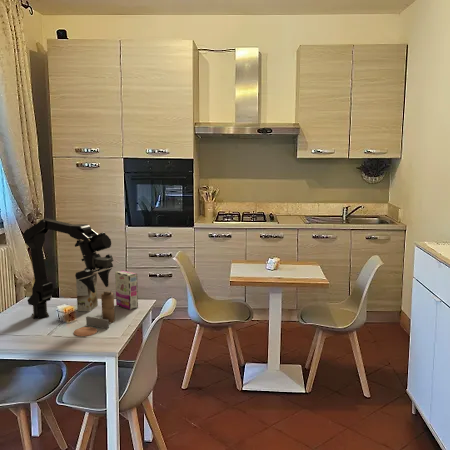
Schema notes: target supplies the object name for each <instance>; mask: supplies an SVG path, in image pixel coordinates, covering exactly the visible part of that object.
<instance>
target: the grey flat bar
mask: <svg viewBox="0 0 450 450" xmlns="http://www.w3.org/2000/svg"><path fill="white" fill-rule="evenodd" d="M85 317H86V318H85V322H86V326H88V327H95V328H96V327H97V328H101V329H106V330H107V329H109V328H110V323H109V320H106V319H102V317H101V318H100V317H94V316H88V315H87V316H85Z"/></svg>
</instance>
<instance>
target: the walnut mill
mask: <svg viewBox="0 0 450 450" xmlns="http://www.w3.org/2000/svg"><path fill="white" fill-rule="evenodd" d="M114 295H115V294H114V292H112V290H106V291H103V293H101V295H100V296H101V297H100V299H101V300H100V301H101V319H106V320H109V324H112V323H114V322H115V321H116V320H115V319H116V317H115V316H116V315H115V296H114Z"/></svg>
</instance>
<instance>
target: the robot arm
mask: <svg viewBox="0 0 450 450" xmlns="http://www.w3.org/2000/svg"><path fill="white" fill-rule="evenodd" d="M50 230H51V231H53V232H54V231H55V232H58V233H59V232H60V233H61V234H66V235H68V236H69V237H70V238H72V239H75V240H76V242H75V244H74V247H79V250H80V253H81V256H82V258H81V259H80V260H81V262H84V265H85V268H84V269H83V270H80V271H77V272H75V275H74V277H75V281H76V280H77V279H80V280H79V281H81V282H82V283H84V284H85V285H86V286H87V287H88V288H89V289H90V290H91V291H92V292H93V293H95V287H94V283H93V277H94V275H93V276H91V275H92V274H93V273H97V276H99V278H100V280H101V282H102V283H103V285H104V286H105V288H108V287H109V275H110V272H111V270H112V269H113V267H114V265H113V262H114V259H113V255H112V254H109V253H108V254H106V255H105V256H101V254H100V253H97V252H100V251H103V250H106V249H110V248H111V247H112V241H111V238H110V237H109V236H108V235H107V234H106V232H105V231H103V232H100V233H97V232H96V231H95V230H93V229H92V227H91V225H89V224H88V223H77V224H76V223H69V222H68V223H67V222H65V221H59V220H56V219H52V218H42V219H40V220H39V221H38V222H37V223H35V224H34V225H32V226H31V227H30V228H27V229H25V231H24V232H23V239H24V241H25V244H26V246H27V247H28V248H29V250H30V257H31V264H32V271H33V278H34V279H33V280H34V283H33V284H32V285H33V286H32V290H31V293H32V294H31V295H30V297H28V299H27V302H28V303H27V304H28V305H30V306H32V312H33V313H31V316H32V318H33V320H36V319H42V318H47V317H50V314H49V312H48V306H47V304H48V303H47V302H49V301H51V299H52V296H53V294H54V291H55V290H54V283H53V282H52V281H51V282H50V281H49V280H48V279H47V278H48V277H47V272H46V265H45V259H44V258H45V257H44V250H43V247H44V244H45V241H46V236H45V235H46V234H47V233H48V232H49V231H50Z"/></svg>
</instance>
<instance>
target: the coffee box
mask: <svg viewBox="0 0 450 450" xmlns="http://www.w3.org/2000/svg"><path fill="white" fill-rule="evenodd" d="M93 275H94V277H93V283H94V287H95V293H93V292H92V291H91V290H90V289H89V288H88V287H87V286H86V285H85V284H84V283H82V282H81V281H79V280H80V279H77V280H76V279H75V283H76V284H75V286H76V305H77V307H76V308H77V311H78V312H91V311H92V310H94V309H96V308H97V307H98V306H99V303H98V278H97V277H98V272H94V273H93V274H92V275H91V276H93Z"/></svg>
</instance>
